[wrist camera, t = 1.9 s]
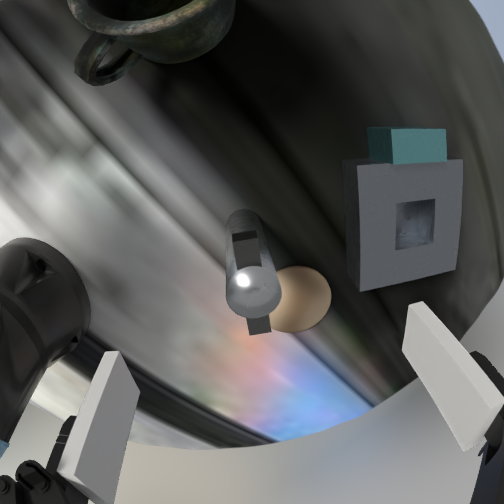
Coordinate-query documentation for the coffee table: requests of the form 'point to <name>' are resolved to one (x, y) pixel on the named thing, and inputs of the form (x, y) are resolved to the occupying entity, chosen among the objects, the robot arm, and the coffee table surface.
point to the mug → (147, 32)
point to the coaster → (300, 299)
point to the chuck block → (402, 207)
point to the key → (250, 272)
